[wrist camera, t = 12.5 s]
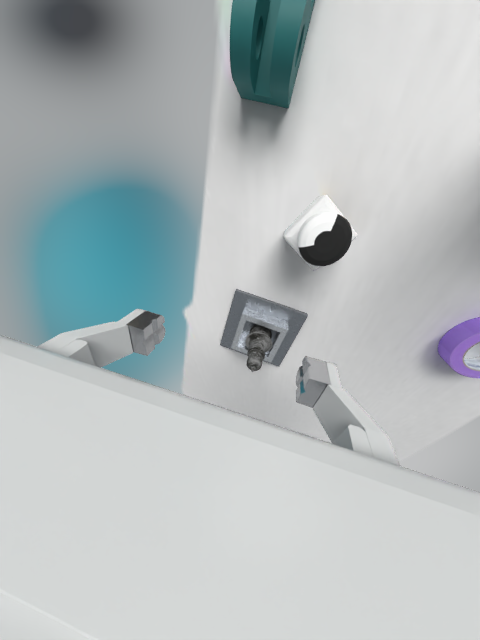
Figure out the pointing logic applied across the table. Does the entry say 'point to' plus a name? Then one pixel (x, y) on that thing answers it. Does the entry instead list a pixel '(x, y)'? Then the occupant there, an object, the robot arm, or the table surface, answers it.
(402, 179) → the table surface
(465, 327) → the masking tape
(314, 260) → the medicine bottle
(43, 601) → the robot arm
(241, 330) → the plate
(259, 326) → the chess piece
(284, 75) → the bracket
